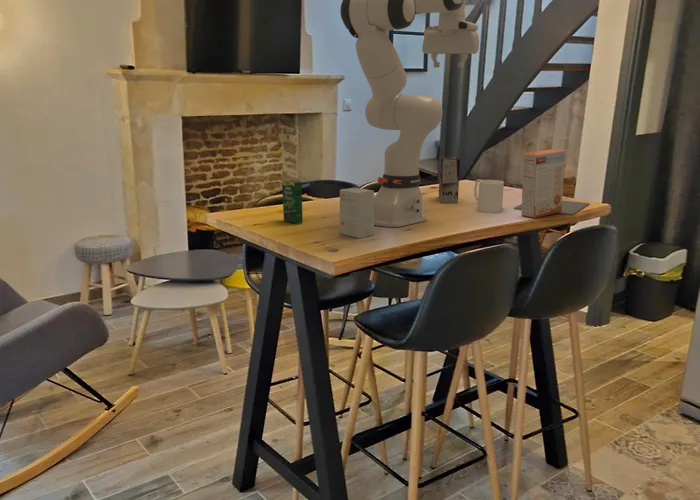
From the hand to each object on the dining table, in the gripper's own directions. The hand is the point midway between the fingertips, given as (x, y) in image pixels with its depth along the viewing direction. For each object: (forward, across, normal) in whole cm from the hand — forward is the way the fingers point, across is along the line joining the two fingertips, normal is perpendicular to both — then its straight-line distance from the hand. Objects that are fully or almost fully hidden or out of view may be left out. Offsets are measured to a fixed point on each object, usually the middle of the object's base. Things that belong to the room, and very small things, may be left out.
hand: (448, 67), depth 214 cm
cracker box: (+47, +38, +1) cm, 60 cm away
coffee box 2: (+48, 0, +6) cm, 48 cm away
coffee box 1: (+49, -22, -57) cm, 78 cm away
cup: (+48, +19, -1) cm, 51 cm away
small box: (+49, +4, -58) cm, 76 cm away
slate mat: (+47, +36, +18) cm, 62 cm away
